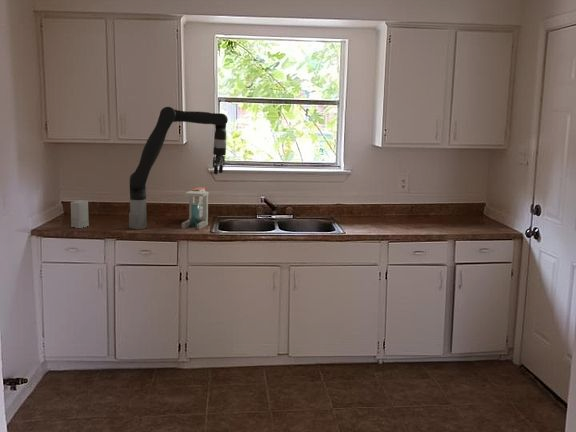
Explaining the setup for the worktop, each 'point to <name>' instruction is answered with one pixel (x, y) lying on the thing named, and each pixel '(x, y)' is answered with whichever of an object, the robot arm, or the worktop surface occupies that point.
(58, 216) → the worktop surface
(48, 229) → the worktop surface
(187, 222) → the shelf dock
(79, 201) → the skincare box
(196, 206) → the canister
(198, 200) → the cracker box
